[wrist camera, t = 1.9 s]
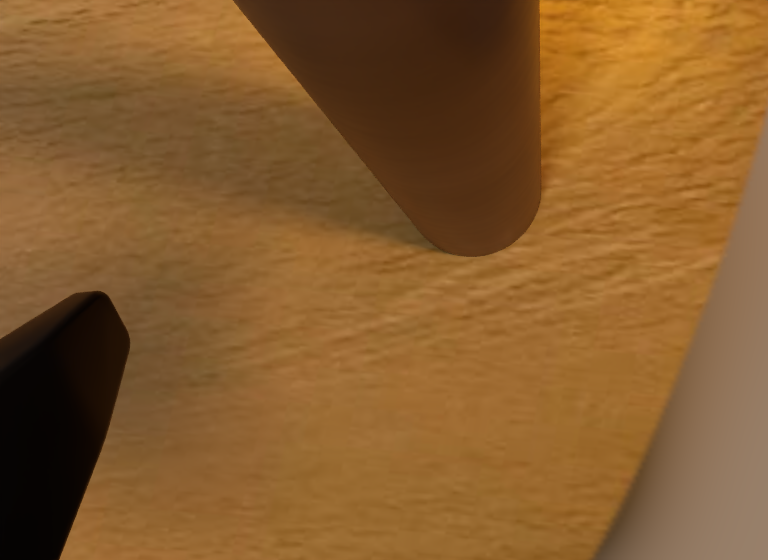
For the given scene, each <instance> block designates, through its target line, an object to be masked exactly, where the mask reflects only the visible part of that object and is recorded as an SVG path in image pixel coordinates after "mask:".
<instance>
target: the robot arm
mask: <svg viewBox="0 0 768 560" xmlns="http://www.w3.org/2000/svg"><path fill="white" fill-rule="evenodd" d="M129 349H130V338H129V334H128V331H127V329H126V327H125V326H124V324H123V322H122V320H121V318H120V316H119V314H118V313H117V311H116V309H115V307H114V305H113V303H112V301H111V300H110V298H109V296H108V295H106V294H105V293H104V292H101V291H91V292H80V293H75V294H73V295H71V296H69V297H68V298H66V299H64V300H63V301H61V302H60V303H58V304H56V305H55V306H53V307H51V308H50V309H48V310H47V311H45V312H43V313H42V314H40V315H38V316H37V317H35V318H34V319H32V320H30V321H29V322H27V323H25V324H24V325H22V326H21V327H19V328H17V329H16V330H14V331H12V332H11V333H9V334H8V335H6V336H4V337H3V338H1V339H0V560H59V559H60V556H61V554H62V551H63V548H64V546H65V543H66V541H67V538H68V535H69V533H70V530H71V528H72V525H73V522H74V520H75V517H76V515H77V512H78V509H79V507H80V504H81V502H82V499H83V496H84V494H85V491H86V489H87V486H88V483H89V481H90V478H91V476H92V473H93V470H94V468H95V465H96V463H97V460H98V457H99V455H100V452H101V449H102V446H103V444H104V441H105V438H106V435H107V431H108V428H109V425H110V421H111V417H112V414H113V410H114V406H115V402H116V399H117V395H118V391H119V387H120V384H121V380H122V376H123V372H124V369H125V365H126V361H127V357H128V354H129Z"/></svg>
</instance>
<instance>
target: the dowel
mask: <svg viewBox="0 0 768 560" xmlns="http://www.w3.org/2000/svg"><path fill="white" fill-rule="evenodd" d="M233 1H234V2H235V4H236V5H237V6H238V7H239V9H240V10H241V11H242V12H243V14H244V15H245V16H246V17H247V18H248V20H249V21H250V22H251V23H252V25H253V26H254V27H255V28H256V30H257V31H258V32H259V33H260V35H261V36H262V37H263V38H264V40H265V41H266V42H267V43H268V44H269V46H270V47H271V48H272V49H273V51H274V52H275V53H276V54H277V56H278V57H279V58H280V59H281V61H282V62H283V63H284V64H285V66H286V67H287V68H288V69H289V70H290V72H291V73H292V74H293V75H294V77H295V78H296V79H297V80H298V82H299V83H300V84H301V85H302V87H303V88H304V89H305V90H306V92H307V93H308V94H309V95H310V97H311V98H312V99H313V100H314V101H315V103H316V104H317V105H318V106H319V108H320V109H321V110H322V111H323V113H324V114H325V115H326V116H327V118H328V119H329V120H330V121H331V123H332V124H333V125H334V126H335V127H336V129H337V130H338V131H339V132H340V134H341V135H342V136H343V137H344V139H345V140H346V141H347V142H348V144H349V145H350V146H351V147H352V149H353V150H354V151H355V152H356V153H357V155H358V156H359V157H360V158H361V160H362V161H363V162H364V163H365V165H366V166H367V167H368V168H369V170H370V171H371V172H372V173H373V175H374V176H375V177H376V178H377V179H378V181H379V182H380V183H381V184H382V186H383V187H384V188H385V189H386V191H387V192H388V193H389V194H390V196H391V197H392V198H393V199H394V201H395V202H396V203H397V204H398V205H399V207H400V208H401V209H402V210H403V212H404V213H405V214H406V215H407V217H408V218H409V219H410V220H411V222H412V223H413V224H414V225H415V227H416V228H417V229H418V230H419V231H420V233H421V234H422V235H423V236H424V237H425V238H426V239H427V240H428V241H429V242H430V243H432V244H433V245H434V246H436V247H438V248H439V249H441V250H443V251H446V252H448V253H451V254H455V255H459V256H466V257H476V256H484V255H488V254H492V253H495V252H498V251H500V250H502V249H504V248H506V247H508V246H509V245H511V244H512V243H514V242H515V241H516V240H517V239H518V238H520V237H521V236H522V235H523V234H524V232H525V231H526V230H527V229H528V227H529V226H530V224H531V223H532V221H533V219H534V217H535V215H536V213H537V210H538V207H539V203H540V197H541V124H540V14H539V0H233Z"/></svg>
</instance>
